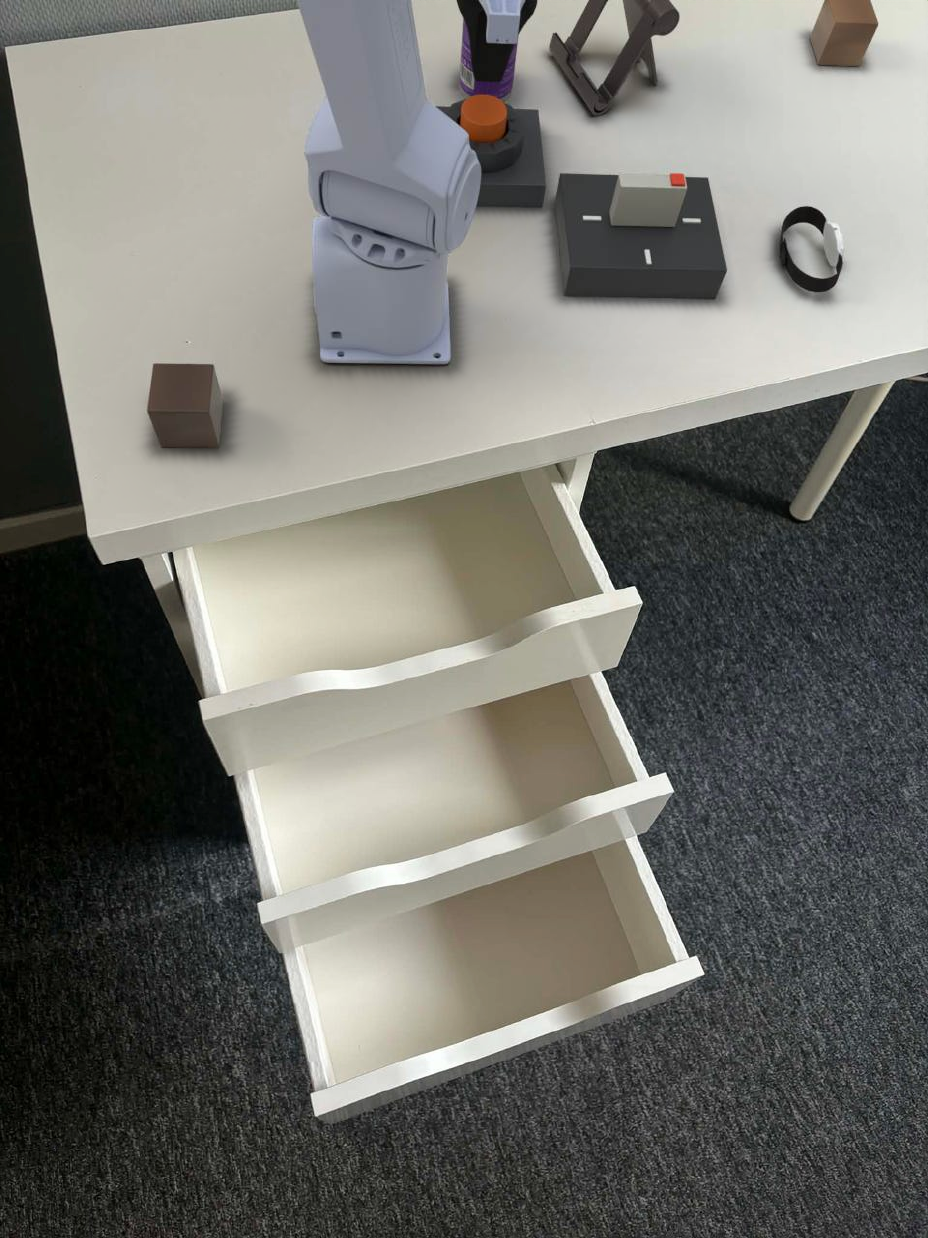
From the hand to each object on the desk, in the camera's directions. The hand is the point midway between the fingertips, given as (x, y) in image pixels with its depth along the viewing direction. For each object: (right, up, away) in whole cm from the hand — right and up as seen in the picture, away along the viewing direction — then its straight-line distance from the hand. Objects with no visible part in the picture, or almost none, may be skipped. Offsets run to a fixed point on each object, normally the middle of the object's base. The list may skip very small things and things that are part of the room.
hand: (487, 75), depth 72 cm
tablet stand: (+11, +7, +13) cm, 19 cm away
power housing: (-1, -4, +7) cm, 8 cm away
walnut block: (-21, -27, -5) cm, 35 cm away
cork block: (+33, +12, +17) cm, 39 cm away
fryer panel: (+12, -12, +4) cm, 17 cm away
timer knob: (+12, -10, +2) cm, 16 cm away
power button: (0, -2, +4) cm, 5 cm away
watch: (+26, -12, +5) cm, 29 cm away
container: (0, +5, +12) cm, 13 cm away
